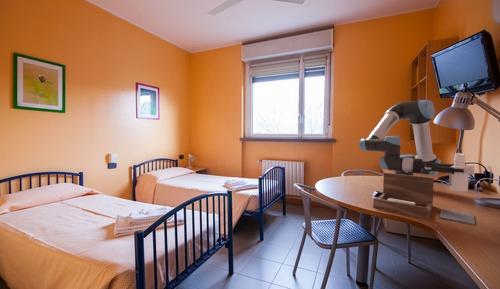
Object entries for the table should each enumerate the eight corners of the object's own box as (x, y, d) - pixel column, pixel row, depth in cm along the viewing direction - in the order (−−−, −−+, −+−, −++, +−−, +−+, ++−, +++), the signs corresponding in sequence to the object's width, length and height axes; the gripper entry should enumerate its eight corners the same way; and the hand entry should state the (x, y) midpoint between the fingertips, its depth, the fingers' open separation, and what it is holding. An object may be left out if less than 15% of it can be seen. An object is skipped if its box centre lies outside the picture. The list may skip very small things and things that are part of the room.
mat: (441, 210, 117) (441, 208, 117) (473, 215, 109) (473, 214, 109) (439, 218, 107) (439, 216, 107) (474, 225, 99) (474, 224, 99)
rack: (383, 197, 140) (384, 172, 138) (432, 206, 123) (433, 177, 122) (373, 207, 123) (373, 179, 122) (428, 218, 107) (429, 186, 105)
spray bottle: (461, 188, 109) (463, 153, 108) (471, 192, 103) (473, 154, 101) (445, 188, 111) (447, 152, 110) (453, 192, 104) (455, 154, 103)
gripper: (415, 169, 126) (472, 174, 110) (409, 175, 112) (474, 182, 96) (416, 156, 125) (473, 159, 109) (410, 160, 111) (475, 165, 95)
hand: (473, 170), depth 103 cm, fingers closed on spray bottle, 7 cm apart
